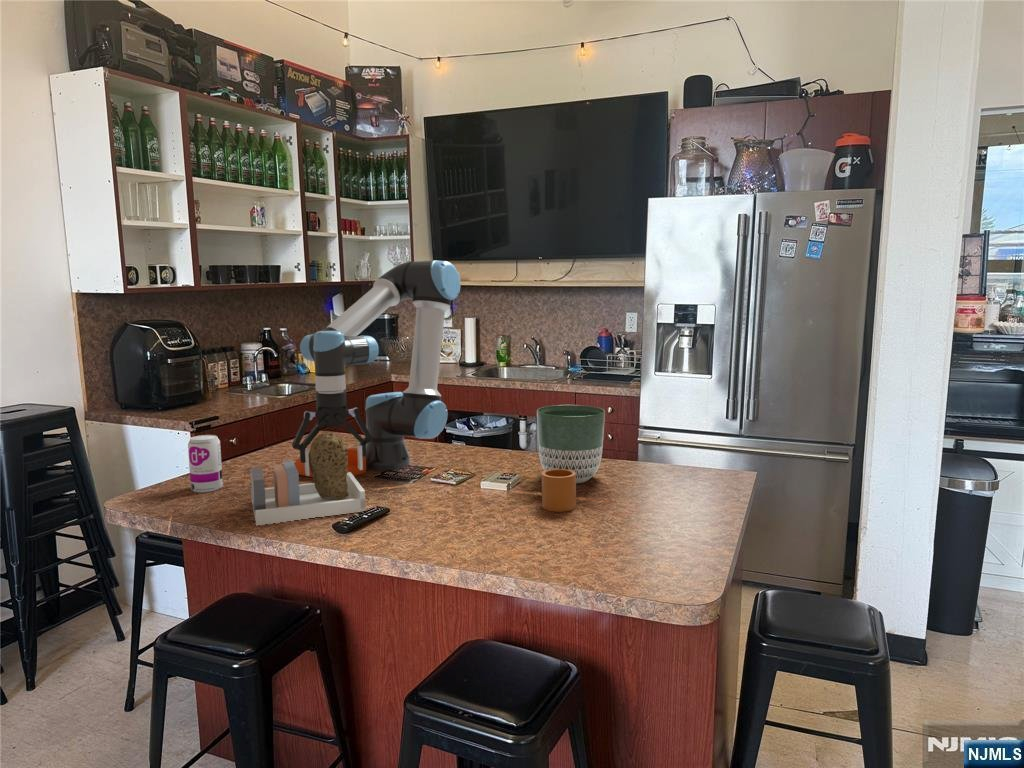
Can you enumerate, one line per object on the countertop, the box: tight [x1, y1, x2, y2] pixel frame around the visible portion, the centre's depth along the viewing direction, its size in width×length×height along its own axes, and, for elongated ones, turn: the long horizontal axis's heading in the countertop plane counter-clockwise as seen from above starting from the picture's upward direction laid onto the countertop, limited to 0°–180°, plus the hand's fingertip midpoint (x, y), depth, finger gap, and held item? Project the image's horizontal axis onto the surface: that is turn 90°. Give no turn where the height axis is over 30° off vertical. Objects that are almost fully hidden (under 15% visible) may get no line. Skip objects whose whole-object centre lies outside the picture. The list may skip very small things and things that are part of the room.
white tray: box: [250, 472, 366, 527], centre depth 178 cm, size 26×20×6 cm
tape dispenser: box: [294, 447, 367, 478], centre depth 209 cm, size 18×13×8 cm
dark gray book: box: [250, 466, 266, 513], centre depth 173 cm, size 2×14×9 cm, turn 23°
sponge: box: [308, 431, 349, 499], centre depth 178 cm, size 13×8×20 cm, turn 54°
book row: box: [272, 460, 300, 508], centre depth 176 cm, size 5×13×10 cm, turn 23°
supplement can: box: [187, 434, 223, 494], centre depth 193 cm, size 8×8×15 cm
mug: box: [541, 469, 577, 513], centre depth 179 cm, size 9×12×9 cm
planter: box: [536, 404, 606, 485], centre depth 199 cm, size 20×20×21 cm
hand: (334, 471), depth 180 cm, fingers open, 13 cm apart
